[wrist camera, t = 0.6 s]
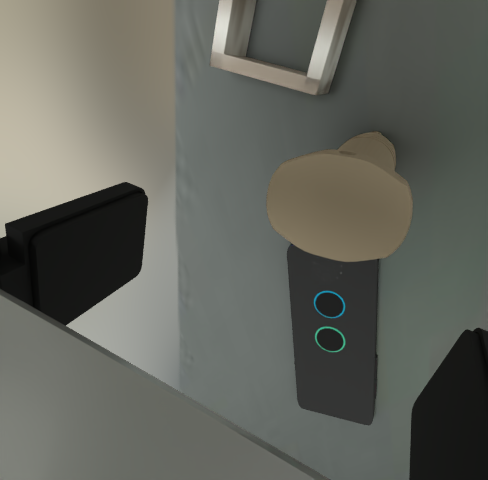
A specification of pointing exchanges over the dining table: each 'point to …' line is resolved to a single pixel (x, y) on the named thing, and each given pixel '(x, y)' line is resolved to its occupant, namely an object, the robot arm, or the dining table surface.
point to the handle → (342, 200)
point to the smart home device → (334, 334)
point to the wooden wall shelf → (234, 59)
